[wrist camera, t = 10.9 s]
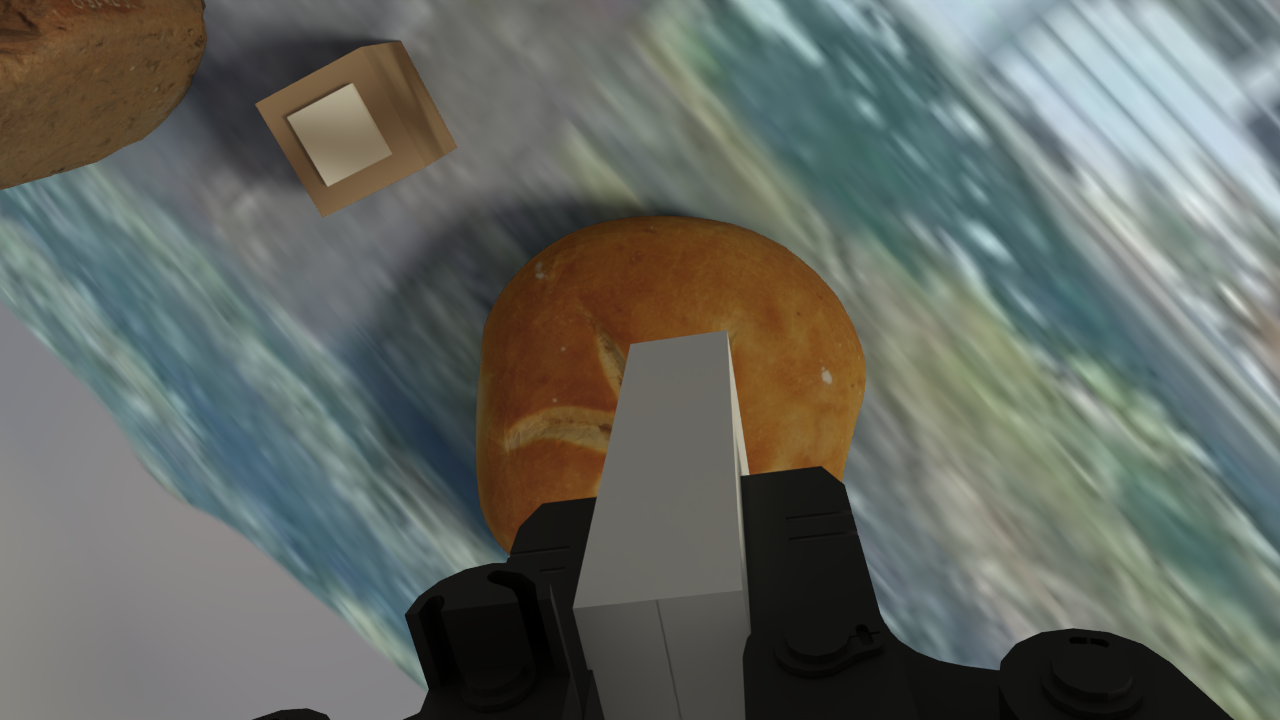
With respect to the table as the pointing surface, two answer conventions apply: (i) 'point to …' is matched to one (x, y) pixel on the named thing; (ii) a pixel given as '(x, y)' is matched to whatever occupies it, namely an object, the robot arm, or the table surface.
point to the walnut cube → (357, 125)
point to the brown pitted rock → (89, 78)
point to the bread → (647, 311)
